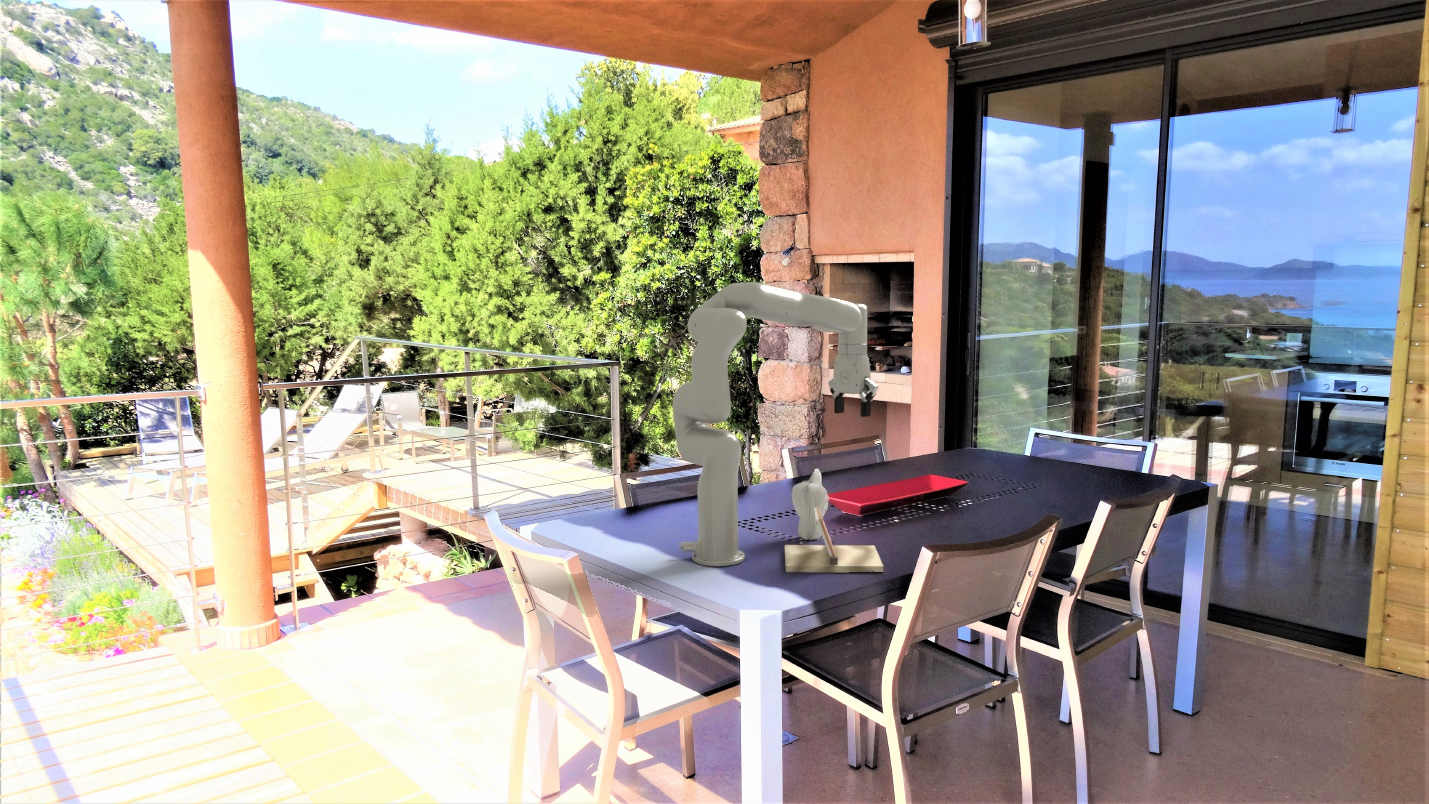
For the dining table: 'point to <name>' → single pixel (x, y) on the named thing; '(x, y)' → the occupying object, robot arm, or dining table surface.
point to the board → (832, 558)
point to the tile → (824, 531)
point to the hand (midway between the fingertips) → (852, 414)
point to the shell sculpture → (810, 505)
